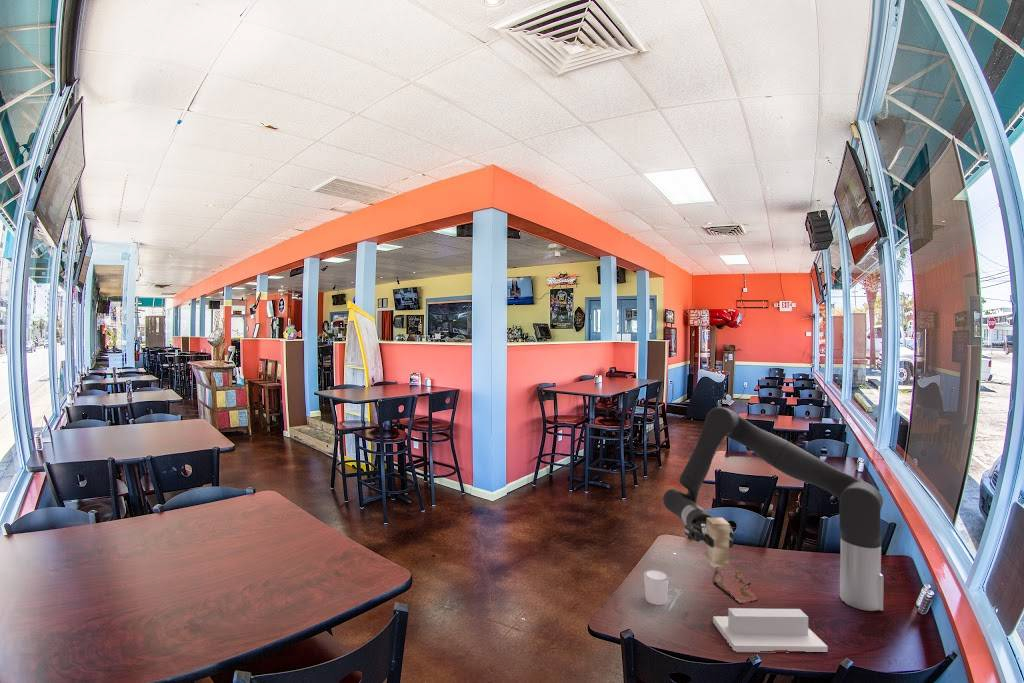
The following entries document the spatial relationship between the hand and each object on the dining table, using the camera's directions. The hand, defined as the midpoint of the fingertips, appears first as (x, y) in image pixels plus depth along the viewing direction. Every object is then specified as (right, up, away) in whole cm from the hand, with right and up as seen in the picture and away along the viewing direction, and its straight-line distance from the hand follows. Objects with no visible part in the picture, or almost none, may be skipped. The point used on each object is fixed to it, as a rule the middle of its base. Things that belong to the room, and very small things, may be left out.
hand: (722, 543), depth 132 cm
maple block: (0, -7, +3) cm, 7 cm away
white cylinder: (-17, -18, +5) cm, 25 cm away
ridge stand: (+6, -18, -12) cm, 22 cm away
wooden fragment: (+9, -18, +15) cm, 26 cm away
